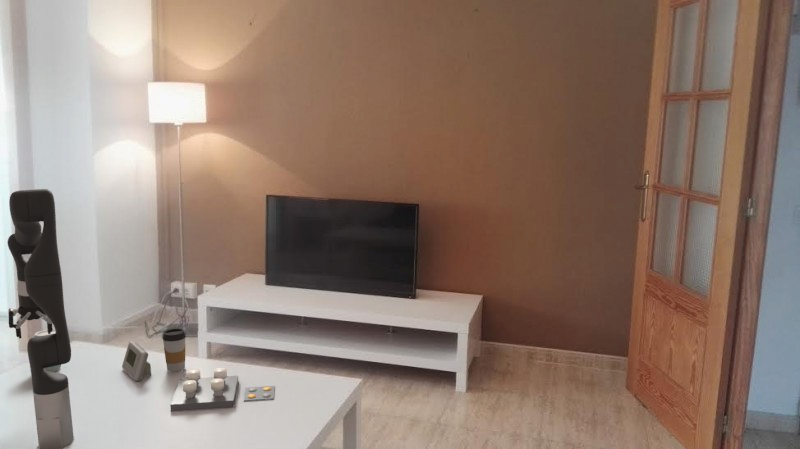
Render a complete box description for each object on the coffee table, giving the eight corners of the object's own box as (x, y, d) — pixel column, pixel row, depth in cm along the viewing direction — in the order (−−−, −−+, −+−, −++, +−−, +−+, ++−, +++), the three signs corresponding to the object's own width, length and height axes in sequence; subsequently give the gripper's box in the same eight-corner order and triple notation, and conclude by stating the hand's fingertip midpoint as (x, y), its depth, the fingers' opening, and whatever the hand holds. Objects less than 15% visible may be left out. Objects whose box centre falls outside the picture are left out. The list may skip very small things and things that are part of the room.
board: (233, 407, 216) (233, 400, 216) (170, 411, 213) (170, 404, 212) (238, 382, 235) (238, 375, 235) (180, 385, 232) (180, 379, 232)
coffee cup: (163, 367, 248) (161, 329, 245) (186, 363, 252) (184, 326, 249) (165, 375, 241) (163, 336, 238) (189, 371, 244) (186, 333, 241)
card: (273, 399, 222) (273, 397, 222) (243, 401, 220) (243, 399, 220) (274, 386, 232) (274, 385, 232) (245, 388, 230) (245, 387, 230)
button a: (196, 400, 217) (195, 385, 216) (182, 401, 216) (181, 386, 215) (198, 394, 221) (197, 379, 220) (184, 395, 221) (183, 380, 220)
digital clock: (121, 368, 247) (119, 341, 245) (147, 364, 251) (145, 337, 249) (126, 384, 233) (124, 356, 231) (152, 379, 237) (151, 352, 235)
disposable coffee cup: (41, 364, 250) (37, 327, 247) (71, 362, 252) (68, 325, 249) (31, 376, 239) (27, 337, 237) (63, 374, 241) (59, 335, 239)
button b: (224, 398, 218) (223, 383, 217) (210, 399, 218) (209, 384, 217) (225, 392, 223) (224, 378, 222) (212, 393, 222) (211, 378, 221)
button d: (226, 387, 227) (226, 372, 226) (213, 387, 226) (212, 373, 225) (227, 381, 231) (227, 367, 230) (215, 382, 231) (214, 368, 230)
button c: (199, 388, 226) (199, 374, 225) (186, 389, 225) (185, 375, 224) (201, 383, 230) (200, 369, 229) (188, 384, 229) (187, 369, 228)
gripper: (6, 298, 207) (10, 344, 212) (56, 291, 215) (60, 336, 219) (5, 289, 213) (9, 334, 218) (54, 283, 221) (57, 326, 225)
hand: (34, 335), depth 219 cm, fingers open, 8 cm apart
